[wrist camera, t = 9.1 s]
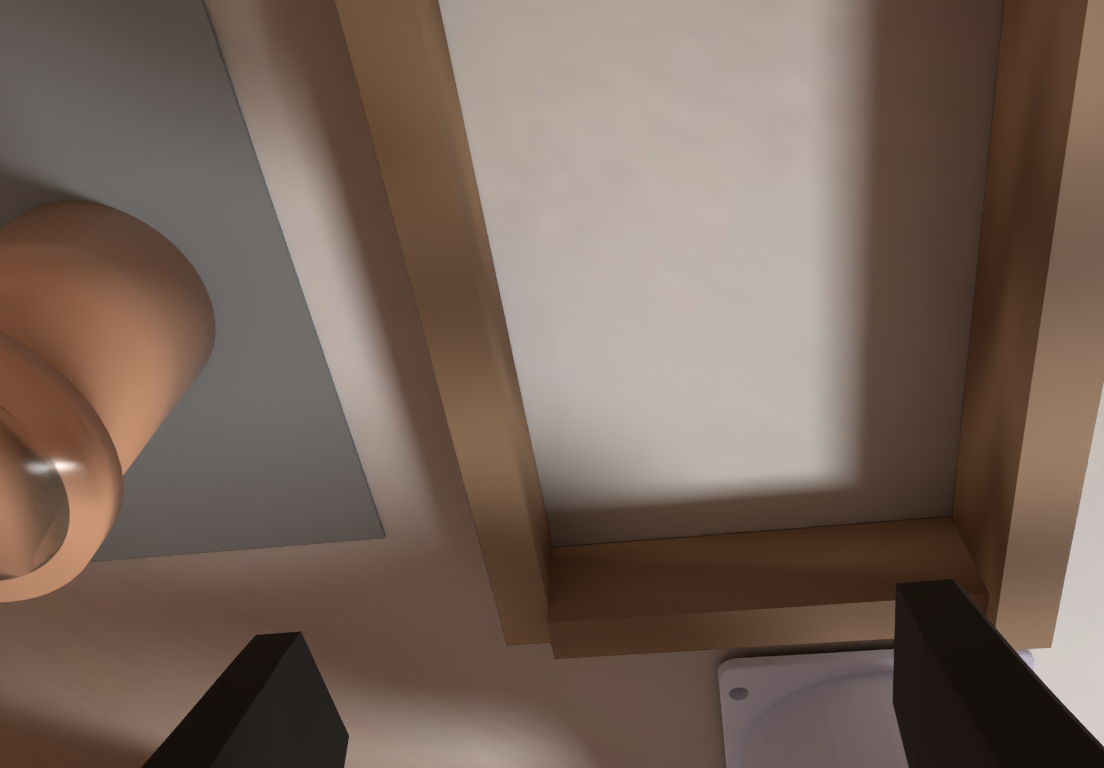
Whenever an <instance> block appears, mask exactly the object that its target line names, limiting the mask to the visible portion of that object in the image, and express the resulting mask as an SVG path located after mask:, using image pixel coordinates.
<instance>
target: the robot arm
mask: <svg viewBox="0 0 1104 768" xmlns="http://www.w3.org/2000/svg"><path fill="white" fill-rule="evenodd" d="M1033 669H1034V658H1033V656H1032V654H1031V652H1030V650H1029V649H1018V650H1014V649H1013V648H1012V646H1011V645H1010V644H1009V643H1008V642H1007V640H1006V639H1005V638H1004V637H1003V636H1002V635H1001V633H1000V632H999V631H998V630H997V629H996V628H995V626H994V625H993V624H992V623H991V622H990V620H989V619H988V618H987V617H986V615H985V614H984V613H983V612H982V611H981V609H980V608H979V607H978V606H977V604H976V603H975V602H974V601H973V599H972V598H971V597H970V596H969V594H968V593H967V592H966V591H965V589H964V588H963V587H962V586H961V585H960V584H959V583H957V582H956V581H954V580H953V579H944V580H932V581H919V582H907V583H896V598H895V632H894V649H886V650H869V651H852V652H835V653H818V654H801V655H784V656H767V657H749V658H735V659H729V660H727V661H725V662H723V663H722V664H721V665H720V666H719V669H718V680H719V691H720V702H721V714H722V725H723V736H724V747H725V758H726V768H1104V746H1103V745H1102V744H1101V743H1100V742H1099V741H1098V740H1097V739H1096V738H1095V737H1094V736H1093V735H1092V734H1091V733H1090V732H1089V731H1088V730H1087V729H1086V727H1085V726H1084V725H1083V724H1082V723H1081V722H1080V721H1079V720H1078V719H1077V718H1076V717H1075V716H1074V715H1073V714H1072V713H1071V712H1070V711H1069V710H1068V709H1067V708H1066V707H1065V705H1064V704H1063V703H1062V702H1061V701H1060V700H1059V699H1058V698H1057V697H1056V696H1055V695H1054V694H1053V692H1052V691H1051V690H1050V689H1049V688H1048V687H1047V686H1046V685H1045V684H1044V683H1043V682H1042V680H1041V679H1040V678H1039V677H1038V676H1037V675H1036V674H1035V673H1034V671H1033ZM738 687H740V688H738ZM348 739H349V735H348V733H347V730H346V728H345V726H344V724H343V722H342V720H341V717H340V715H339V713H338V711H337V709H336V707H335V704H334V702H333V700H332V698H331V696H330V694H329V691H328V689H327V687H326V685H325V683H324V681H323V678H322V676H321V674H320V672H319V670H318V668H317V665H316V663H315V661H314V659H313V657H312V655H311V652H310V650H309V648H308V646H307V644H306V642H305V639H304V637H303V635H302V633H301V632H289V633H277V634H264V635H256V636H255V637H254V638H253V639H252V640H251V641H250V642H249V643H248V645H247V646H246V647H245V648H244V649H243V650H242V651H241V652H240V654H239V655H238V656H237V657H236V658H235V659H234V660H233V662H232V663H231V664H230V665H229V666H228V667H227V669H226V670H225V671H224V672H223V673H222V674H221V676H220V677H219V678H218V679H217V680H216V681H215V683H214V684H213V685H212V686H211V687H210V689H209V690H208V691H207V692H206V693H205V694H204V696H203V697H202V698H201V699H200V700H199V702H198V703H197V704H196V705H195V706H194V707H193V709H192V710H191V711H190V712H189V713H188V714H187V716H186V717H185V718H184V719H183V720H182V721H181V723H180V724H179V725H178V726H177V727H176V728H175V730H174V731H173V732H172V733H171V734H170V735H169V736H168V738H167V739H166V740H165V741H164V742H163V743H162V744H161V746H160V747H159V748H158V749H157V750H156V751H155V752H154V754H153V755H152V756H151V757H150V758H149V759H148V760H147V762H146V763H145V764H144V765H143V766H142V767H141V768H344V764H345V758H346V752H347V745H348Z"/></svg>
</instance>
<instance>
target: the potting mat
mask: <svg viewBox="0 0 1104 768" xmlns="http://www.w3.org/2000/svg"><path fill="white" fill-rule="evenodd" d="M61 201H83V202H90V203H96V204H101V205H104V206H108V207H111V208H115V209H117V210H120V211H122V212H125V213H127V214H129V215H132V216H134V217H135V218H137V219H139V220H141V221H143V222H145V223H146V224H148V225H149V226H151V227H152V228H154V229H155V230H157V231H158V232H160V233H161V234H162V235H163V236H165V237H166V238H167V239H168V240H169V241H171V242H172V243H173V244H174V245H175V246H176V247H177V248H178V249H179V250H180V251H181V252H182V253H183V254H184V255H185V257H186V258H187V259H188V260H189V262H190V263H191V264H192V265H193V267H194V268H195V270H196V271H197V273H198V275H199V276H200V278H201V279H202V281H203V283H204V285H205V287H206V290H207V292H208V294H209V297H210V300H211V303H212V306H213V311H214V316H215V329H216V332H215V342H214V346H213V350H212V353H211V356H210V358H209V360H208V362H207V364H206V365H205V367H204V368H203V370H202V371H201V372H200V374H199V375H198V376H197V378H196V379H195V380H194V382H193V383H192V384H191V386H190V387H189V388H188V390H187V391H186V392H185V394H184V395H183V396H182V398H181V399H180V400H179V402H178V403H177V404H176V406H175V407H174V408H173V410H172V411H171V412H170V414H169V415H168V416H167V418H166V419H165V420H164V422H163V423H162V424H161V426H160V427H159V428H158V430H157V431H156V432H155V434H154V435H153V436H152V438H151V439H150V440H149V442H148V443H147V444H146V446H145V447H144V448H143V450H142V451H141V452H140V454H139V455H138V456H137V458H136V459H135V460H134V462H133V463H132V464H131V466H130V467H129V468H128V470H127V471H126V472H125V474H124V475H123V483H124V486H123V501H122V505H121V510H120V514H119V516H118V518H117V521H116V523H115V525H114V527H113V528H112V530H111V531H110V533H109V534H108V536H107V537H106V538H105V540H104V541H103V543H102V544H101V545H100V547H99V548H98V550H97V551H96V552H95V554H94V555H93V557H92V558H91V559H90V561H89V562H95V561H108V560H120V559H133V558H145V557H157V556H170V555H182V554H195V553H207V552H219V551H232V550H244V549H256V548H269V547H281V546H294V545H306V544H318V543H331V542H343V541H356V540H368V539H380V538H385V533H384V530H383V527H382V524H381V521H380V518H379V515H378V512H377V509H376V506H375V504H374V501H373V498H372V495H371V492H370V489H369V486H368V483H367V480H366V477H365V474H364V471H363V468H362V465H361V462H360V459H359V456H358V453H357V450H356V448H355V445H354V442H353V439H352V436H351V433H350V430H349V427H348V424H347V421H346V418H345V415H344V412H343V409H342V406H341V403H340V400H339V397H338V394H337V392H336V389H335V386H334V383H333V380H332V377H331V374H330V371H329V368H328V365H327V362H326V359H325V356H324V353H323V350H322V347H321V344H320V341H319V338H318V336H317V333H316V330H315V327H314V324H313V321H312V318H311V315H310V312H309V309H308V306H307V303H306V300H305V297H304V294H303V291H302V288H301V285H300V282H299V279H298V277H297V274H296V271H295V268H294V265H293V262H292V259H291V256H290V253H289V250H288V247H287V244H286V241H285V238H284V235H283V232H282V229H281V226H280V223H279V221H278V218H277V215H276V212H275V209H274V206H273V203H272V200H271V197H270V194H269V191H268V188H267V185H266V182H265V179H264V176H263V173H262V170H261V167H260V165H259V162H258V159H257V156H256V153H255V150H254V147H253V144H252V141H251V138H250V135H249V132H248V129H247V126H246V123H245V120H244V117H243V114H242V111H241V109H240V106H239V103H238V100H237V97H236V94H235V91H234V88H233V85H232V82H231V79H230V76H229V73H228V70H227V67H226V64H225V61H224V58H223V55H222V53H221V50H220V47H219V44H218V41H217V38H216V35H215V32H214V29H213V26H212V23H211V20H210V17H209V14H208V11H207V8H206V5H205V2H204V0H0V229H1V228H2V227H4V226H5V225H7V224H8V223H10V222H11V221H13V220H14V219H16V218H17V217H19V216H20V215H22V214H24V213H25V212H27V211H28V210H30V209H33V208H35V207H38V206H40V205H44V204H48V203H53V202H61Z"/></svg>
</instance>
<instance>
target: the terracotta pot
mask: <svg viewBox="0 0 1104 768" xmlns="http://www.w3.org/2000/svg"><path fill="white" fill-rule="evenodd" d="M215 332H216V329H215V316H214V311H213V306H212V303H211V300H210V297H209V294H208V292H207V290H206V287H205V285H204V283H203V281H202V279H201V278H200V276H199V275H198V273H197V271H196V270H195V268H194V267H193V265H192V264H191V263H190V262H189V260H188V259H187V258H186V257H185V255H184V254H183V253H182V252H181V251H180V250H179V249H178V248H177V247H176V246H175V245H174V244H173V243H172V242H171V241H169V240H168V239H167V238H166V237H165V236H163V235H162V234H161V233H160V232H158V231H157V230H155V229H154V228H152V227H151V226H149V225H148V224H146V223H145V222H143V221H141V220H139V219H137V218H135V217H134V216H132V215H129V214H127V213H125V212H122V211H120V210H117V209H115V208H111V207H108V206H104V205H101V204H96V203H90V202H83V201H61V202H53V203H48V204H44V205H40V206H38V207H35V208H33V209H30V210H28V211H27V212H25V213H24V214H22V215H20V216H19V217H17V218H16V219H14V220H13V221H11V222H10V223H8V224H7V225H5V226H4V227H2V228H1V229H0V602H13V601H20V600H27V599H31V598H34V597H38V596H42V595H45V594H47V593H50V592H52V591H54V590H57V589H59V588H60V587H62V586H64V585H65V584H67V583H68V582H70V581H72V580H73V579H74V578H75V577H76V576H77V575H78V574H79V573H80V572H81V571H82V570H83V569H84V568H85V566H86V565H87V564H88V562H89V561H90V559H91V558H92V557H93V555H94V554H95V552H96V551H97V550H98V548H99V547H100V545H101V544H102V543H103V541H104V540H105V538H106V537H107V536H108V534H109V533H110V531H111V530H112V528H113V527H114V525H115V523H116V521H117V518H118V516H119V514H120V510H121V505H122V501H123V486H124V483H123V475H124V474H125V472H126V471H127V470H128V468H129V467H130V466H131V464H132V463H133V462H134V460H135V459H136V458H137V456H138V455H139V454H140V452H141V451H142V450H143V448H144V447H145V446H146V444H147V443H148V442H149V440H150V439H151V438H152V436H153V435H154V434H155V432H156V431H157V430H158V428H159V427H160V426H161V424H162V423H163V422H164V420H165V419H166V418H167V416H168V415H169V414H170V412H171V411H172V410H173V408H174V407H175V406H176V404H177V403H178V402H179V400H180V399H181V398H182V396H183V395H184V394H185V392H186V391H187V390H188V388H189V387H190V386H191V384H192V383H193V382H194V380H195V379H196V378H197V376H198V375H199V374H200V372H201V371H202V370H203V368H204V367H205V365H206V364H207V362H208V360H209V358H210V356H211V353H212V350H213V346H214V342H215Z"/></svg>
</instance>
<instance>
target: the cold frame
mask: <svg viewBox="0 0 1104 768" xmlns="http://www.w3.org/2000/svg"><path fill="white" fill-rule="evenodd" d="M335 3H336V7H337V11H338V14H339V18H340V22H341V26H342V29H343V33H344V37H345V40H346V44H347V48H348V52H349V55H350V59H351V63H352V67H353V70H354V74H355V78H356V82H357V85H358V89H359V93H360V97H361V100H362V104H363V108H364V112H365V115H366V119H367V123H368V127H369V130H370V134H371V138H372V142H373V145H374V149H375V153H376V157H377V160H378V164H379V168H380V172H381V175H382V179H383V183H384V186H385V190H386V194H387V198H388V201H389V205H390V209H391V213H392V216H393V220H394V224H395V228H396V231H397V235H398V239H399V243H400V246H401V250H402V254H403V258H404V261H405V265H406V269H407V273H408V276H409V280H410V284H411V288H412V291H413V295H414V299H415V303H416V306H417V310H418V314H419V318H420V321H421V325H422V329H423V332H424V336H425V340H426V344H427V347H428V351H429V355H430V359H431V362H432V366H433V370H434V374H435V377H436V381H437V385H438V389H439V392H440V396H441V400H442V404H443V407H444V411H445V415H446V419H447V422H448V426H449V430H450V434H451V437H452V441H453V445H454V449H455V452H456V456H457V460H458V464H459V467H460V471H461V475H462V478H463V482H464V486H465V490H466V493H467V497H468V501H469V505H470V508H471V512H472V516H473V520H474V523H475V527H476V531H477V535H478V538H479V542H480V546H481V550H482V553H483V557H484V561H485V565H486V568H487V572H488V576H489V580H490V583H491V587H492V591H493V595H494V598H495V602H496V606H497V610H498V613H499V617H500V621H501V624H502V628H503V632H504V636H505V639H506V643H507V645H522V644H537V643H551V644H552V649H553V653H554V657H555V659H562V658H578V657H595V656H612V655H628V654H645V653H661V652H678V651H695V650H711V649H728V648H745V647H761V646H778V645H795V644H811V643H828V642H845V641H861V640H878V639H894V632H895V598H896V583H907V582H919V581H932V580H944V579H953V580H954V581H956V582H957V583H959V584H960V585H961V586H962V587H963V588H964V589H965V591H966V592H967V593H968V594H969V596H970V597H971V598H972V599H973V601H974V602H975V603H976V604H977V606H978V607H979V608H980V609H981V611H982V612H983V613H984V614H985V615H986V617H987V618H988V619H989V620H990V622H991V623H992V624H993V625H994V626H995V628H996V629H997V630H998V631H999V632H1000V633H1001V635H1002V636H1003V637H1004V638H1005V639H1006V640H1007V642H1008V643H1009V644H1010V645H1011V646H1012V648H1013V649H1014V650H1018V649H1035V648H1051V645H1052V640H1053V635H1054V630H1055V625H1056V620H1057V614H1058V609H1059V604H1060V599H1061V594H1062V589H1063V584H1064V579H1065V574H1066V569H1067V564H1068V559H1069V554H1070V549H1071V544H1072V539H1073V534H1074V529H1075V523H1076V518H1077V513H1078V508H1079V503H1080V498H1081V493H1082V488H1083V483H1084V478H1085V473H1086V468H1087V463H1088V458H1089V453H1090V448H1091V443H1092V437H1093V432H1094V427H1095V422H1096V417H1097V412H1098V407H1099V402H1100V397H1101V392H1102V387H1103V382H1104V0H1004V10H1003V20H1002V30H1001V40H1000V49H999V59H998V69H997V79H996V89H995V99H994V108H993V118H992V128H991V138H990V148H989V158H988V167H987V177H986V187H985V197H984V207H983V217H982V226H981V236H980V246H979V256H978V266H977V276H976V285H975V295H974V305H973V315H972V325H971V335H970V345H969V354H968V364H967V374H966V384H965V394H964V404H963V413H962V423H961V433H960V443H959V453H958V463H957V472H956V482H955V492H954V502H953V512H952V517H944V518H931V519H918V520H905V521H892V522H879V523H866V524H853V525H840V526H828V527H815V528H802V529H789V530H776V531H763V532H750V533H737V534H724V535H711V536H698V537H685V538H672V539H659V540H646V541H633V542H620V543H607V544H594V545H581V546H568V547H555V548H553V544H552V540H551V535H550V530H549V525H548V521H547V516H546V511H545V506H544V502H543V497H542V492H541V487H540V483H539V478H538V473H537V468H536V464H535V459H534V454H533V449H532V445H531V440H530V435H529V430H528V426H527V421H526V416H525V411H524V407H523V402H522V397H521V392H520V387H519V383H518V378H517V373H516V368H515V364H514V359H513V354H512V349H511V345H510V340H509V335H508V330H507V326H506V321H505V316H504V311H503V307H502V302H501V297H500V292H499V288H498V283H497V278H496V273H495V269H494V264H493V259H492V254H491V250H490V245H489V240H488V235H487V230H486V226H485V221H484V216H483V211H482V207H481V202H480V197H479V192H478V188H477V183H476V178H475V173H474V169H473V164H472V159H471V154H470V150H469V145H468V140H467V135H466V131H465V126H464V121H463V116H462V112H461V107H460V102H459V97H458V93H457V88H456V83H455V78H454V74H453V69H452V64H451V59H450V54H449V50H448V45H447V40H446V35H445V31H444V26H443V21H442V16H441V12H440V7H439V2H438V0H335Z"/></svg>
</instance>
